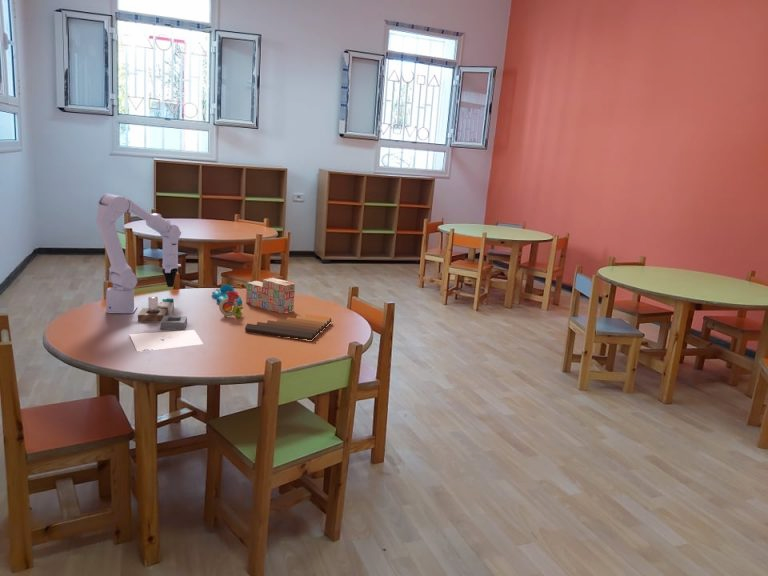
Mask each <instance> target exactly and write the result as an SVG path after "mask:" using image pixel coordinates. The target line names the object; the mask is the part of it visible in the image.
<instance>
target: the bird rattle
mask: <svg viewBox="0 0 768 576" xmlns="http://www.w3.org/2000/svg"><path fill="white" fill-rule="evenodd" d="M235 291H236V290H235ZM235 291H231V292H230V291H228V292H226V293H227V296H228V298H226V299H224V300H222V301H221V303H220V305H219V304H218V305H219V311H220V313H221V314H222V315H223V317H224V318H227V317H231V316H236V318H240V317H241V316H243V312H242V310H243V309H244V307H243V306H242V305H238V304H237V302H236V301H235V299H238V298H239V297H240V295H239V294H238V292H237V291H236V292H235ZM226 302H230V303H232V304H233V305H231V304H230V303H226Z"/></svg>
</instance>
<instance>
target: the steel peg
mask: <svg viewBox="0 0 768 576" xmlns="http://www.w3.org/2000/svg"><path fill="white" fill-rule="evenodd" d="M147 300H148V301H147V304H148V308H149V313H158V304H159V301H158V300H159V297H158V296H154V295H153V296H148V298H147Z"/></svg>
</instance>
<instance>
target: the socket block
mask: <svg viewBox="0 0 768 576" xmlns="http://www.w3.org/2000/svg"><path fill="white" fill-rule="evenodd" d="M164 316H169V315H168V309H158V313H149V307H148V308H147V307H142V308H141V310H140V311H139V313H137V322H139V321H141V322H142V321H143V322H147V323H148V322H150V323H151V322H152V323H155V322H156V323H160V322H161V320H162V318H163V317H164ZM143 322H142V323H143Z"/></svg>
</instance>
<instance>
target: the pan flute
mask: <svg viewBox="0 0 768 576" xmlns="http://www.w3.org/2000/svg"><path fill="white" fill-rule="evenodd" d="M330 322H331V323H332V318H331V317H330V316H329V317H327V316H320V315H313V314H305V316H301V315H296V317H289V316H288V317H287V318H286V319H281V318H277V320H267V322H262V321H257V322H256V324H253V323H246V325H245V328H244V331H245V333H250V334H256V335H257V334H258V335H263V336H269V335H270V337H276V336H280V337H279V338H283V337H290V338H298V339H307V340H312V339H313V338H314V337H315V336H316V335H317V334H318V333H320V331H322V330H323V329H324V328H325V327H326V326H327V325H328V324H329V323H330ZM320 334H321V333H320ZM290 338H289V339H290Z"/></svg>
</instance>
